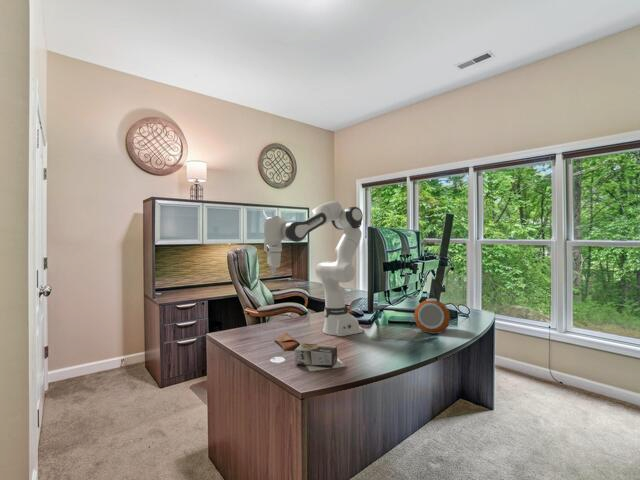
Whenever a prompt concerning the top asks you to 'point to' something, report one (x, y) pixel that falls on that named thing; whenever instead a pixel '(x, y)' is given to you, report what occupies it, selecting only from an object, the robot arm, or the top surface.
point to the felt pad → (314, 368)
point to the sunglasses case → (287, 342)
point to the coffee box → (316, 355)
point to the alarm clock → (432, 316)
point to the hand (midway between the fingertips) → (273, 274)
